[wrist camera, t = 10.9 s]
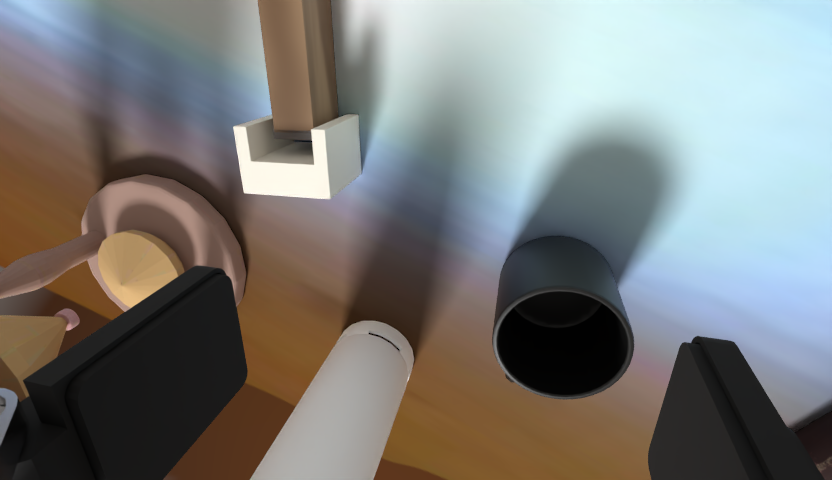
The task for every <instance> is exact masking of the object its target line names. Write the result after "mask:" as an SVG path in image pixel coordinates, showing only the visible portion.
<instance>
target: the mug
mask: <svg viewBox="0 0 832 480" xmlns="http://www.w3.org/2000/svg"><path fill="white" fill-rule="evenodd" d="M492 344H493V350H494V353H495V356H496V359H497V361H498V363H499V365H500V366H501V368H502V369H503V371H504V372H505V374H506V378H507V379H508V380H509V381H510V382H515V383H516V384H518V385H519V386H521V387H522V388H524V389H526V390H528V391H530V392H532V393H535V394H538V395H540V396H544V397H548V398H554V399H578V398H584V397H588V396H591V395H594V394H597V393H599V392H602V391H604V390H605V389H607V388H609V387H610V386H612V385H613V384H614V383H615V382H617V381H618V380H619V379H620V378H621V377H622V375H623V374H624V373H625V371H626V370H627V368H628V366H629V365H630V362H631V359H632V356H633V351H634V337H633V332H632V329H631V325H630V323H629V320H628V317H627V314H626V311H625V308H624V305H623V302H622V299H621V297H620V294H619V291H618V288H617V285H616V282H615V279H614V276H613V273H612V270H611V268H610V266H609V264H608V263H607V261H606V260H605V258H604V257H603V256H602V255H601V254H600V253H599V252H598V251H597V250H596V249H595V248H593V247H592V246H590V245H589V244H587V243H585V242H583V241H580V240H577V239H574V238H570V237H564V236H549V237H543V238H539V239H535V240H532V241H530V242H528V243H526V244H524V245H522V246H521V247H519V248H518V249H517V250H516V251H514V252H513V253H512V254H511V256H510V257H509V258H508V259H507V261H506V262H505V264H504V266H503V268H502V271H501V274H500V280H499V288H498V296H497V304H496V311H495V319H494V327H493V336H492Z"/></svg>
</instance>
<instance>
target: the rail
mask: <svg viewBox="0 0 832 480" xmlns="http://www.w3.org/2000/svg"><path fill="white" fill-rule="evenodd" d="M258 6H259V14H260V22H261V30H262V38H263V45H264V53H265V61H266V69H267V77H268V85H269V93H270V101H271V109H272V117H273V125H274V129H273V134H274V139H289V140H311V141H312V135H311V129H313V128H316V127H318V126H320V125H323V124H325V123H327V122H330V121H332V120H334V119H337V118H339V114H338V100H337V86H336V72H335V57H334V43H333V29H332V14H331V0H258Z"/></svg>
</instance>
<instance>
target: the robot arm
mask: <svg viewBox="0 0 832 480" xmlns="http://www.w3.org/2000/svg"><path fill="white" fill-rule="evenodd" d="M246 377H247V364H246V359H245V353H244V347H243V342H242V336H241V330H240V325H239V319H238V313H237V307H236V302H235V296H234V290H233V285H232V281H231V279H230V277H229V276H227V275H226V273H225V271H224V270H223V269H221V268H215V267H208V266H201V265H196V266H194V267H192V268H190V269H189V270H187V271H186V272H184V273H183V274H181V275H180V276H178V277H177V278H175V279H174V280H172V281H171V282H169V283H168V284H166V285H165V286H163V287H162V288H160V289H159V290H157V291H156V292H154V293H153V294H151V295H150V296H148V297H147V298H145V299H144V300H142V301H141V302H139V303H138V304H136V305H135V306H133V307H132V308H130V309H129V310H127V311H126V312H124V313H123V314H121V315H120V316H118V317H117V318H115V319H114V320H112V321H111V322H109V323H108V324H106V325H105V326H103V327H102V328H100V329H99V330H97V331H96V332H94V333H93V334H91V335H90V336H89V337H87V338H85V339H84V340H82V341H81V342H79V343H78V344H76V345H75V346H73V347H72V348H70V349H69V350H67V351H66V352H64V353H63V354H61V355H60V356H58V357H57V358H55V359H54V360H52V361H51V362H49V363H48V364H46V365H45V366H43V367H42V368H40V369H39V370H37V371H36V372H34V373H33V374H31V375H30V376H28V377H27V378H25V379H24V380H23V382H24V384H25V387H26V389H27V391H28V394H29V396H28V397H27V398H25V399H24V400H23V401H21V402H20V401H19V399H18V397H17V395H16V394H15V393H14V391H11V390H8V389H5V388H0V480H163V479H164V477H165V476H166V475H167V474H168V473H169V472H170V471H171V469H172V468H173V467H174V466H175V465H176V463H177V462H178V461H179V460H180V459H181V458H182V456H183V455H184V454H185V453H186V452H187V450H188V449H189V448H190V447H191V446H192V445H193V444H194V442H195V441H196V440H197V439H198V438H199V437H200V435H201V434H202V433H203V432H204V431H205V430H206V428H207V427H208V426H209V425H210V424H211V422H212V421H213V420H214V419H215V418H216V417H217V415H218V414H219V413H220V412H221V411H222V410H223V408H224V407H225V406H226V405H227V404H228V403H229V401H230V400H231V399H232V398H233V397H234V396H235V394H236V393H237V392H238V391H239V390H240V388H241V387H242V386H243V385H244V383H245V381H246ZM648 465H649V471H650V475H651V479H652V480H825V479H824V478H823V476H822V474H821V473H820V471H819V470H818V468H817V466H816V465H815V463H814V462H813V460H812V458H811V457H810V455H809V454H808V452H807V450H806V449H805V447H804V446H803V444H802V442H801V441H800V439H799V438H798V436H797V435H796V434H795V433H794V432H793V430H791V429H790V428H788V427H786V425H785V423H784V422H783V420H782V418H781V417H780V415H779V414H778V412H777V410H776V409H775V407H774V405H773V404H772V402H771V400H770V399H769V397H768V396H767V394H766V392H765V391H764V389H763V387H762V386H761V384H760V383H759V381H758V379H757V378H756V376H755V374H754V373H753V371H752V369H751V368H750V366H749V365H748V363H747V361H746V360H745V358H744V356H743V355H742V353H741V352H740V350H739V348H738V347H737V345H736V344H735V343H734V342H732V341H728V340H721V339H714V338H707V337H700V336H697V337H695V338H694V339H693V340H692V342H691V343H686V342H684V343H682V344H681V346H680V348H679V351H678V355H677V358H676V361H675V364H674V368H673V371H672V374H671V378H670V381H669V384H668V388H667V391H666V394H665V398H664V401H663V404H662V407H661V411H660V414H659V417H658V421H657V424H656V427H655V431H654V434H653V437H652V441H651V444H650V447H649V453H648Z"/></svg>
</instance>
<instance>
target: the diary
mask: <svg viewBox="0 0 832 480" xmlns="http://www.w3.org/2000/svg"><path fill="white" fill-rule="evenodd" d="M795 434H796V435H797V436H798V438H799V439H800V441H801V442H802V444H803V446H804V447H805V449H806V450H807V452H808V454H809V455H810V457H811V458H812V460H813V462H814V463H815V465H816V466H817V468H818V470H819V471H820V473H821V474H822V476H823V478H824V479H825V480H832V411H831V412H829V413H827V414H826V415H824V416H822V417H821V418H819V419H817V420H816V421H814V422H812V423H811V424H809V425H807V426H806V427H804V428H802V429H801V430H799V431H797V432H795Z"/></svg>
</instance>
